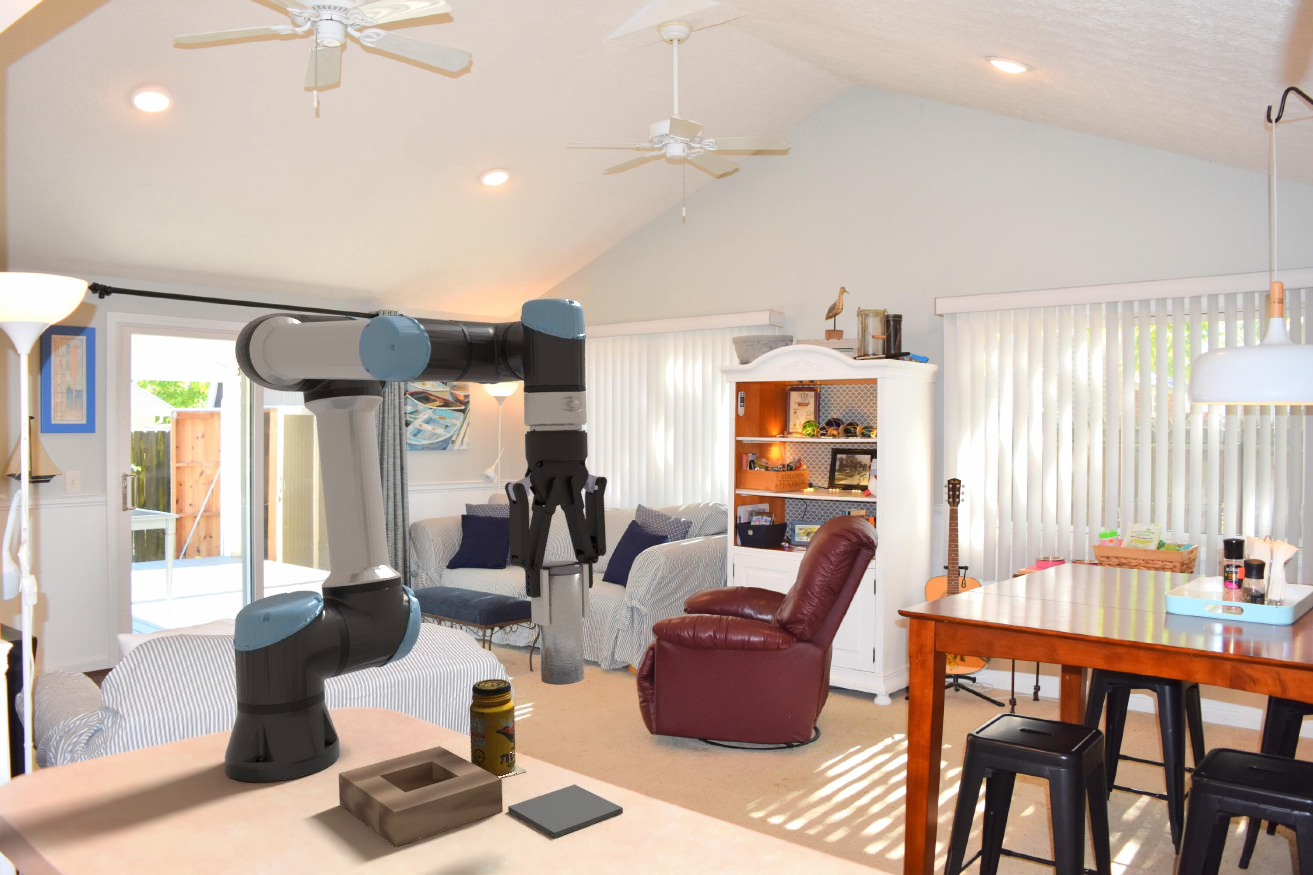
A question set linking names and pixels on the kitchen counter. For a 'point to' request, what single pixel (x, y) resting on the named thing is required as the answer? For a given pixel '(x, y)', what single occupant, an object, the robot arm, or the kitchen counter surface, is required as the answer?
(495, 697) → the condiment
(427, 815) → the housing
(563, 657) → the plug
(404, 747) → the kitchen counter surface
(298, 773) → the robot arm
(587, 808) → the mat
